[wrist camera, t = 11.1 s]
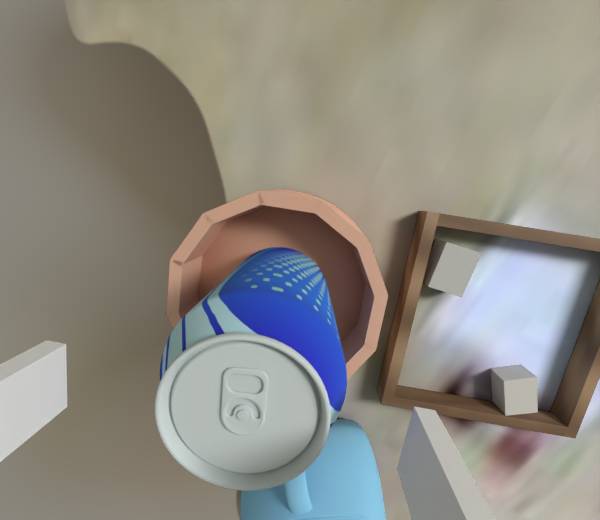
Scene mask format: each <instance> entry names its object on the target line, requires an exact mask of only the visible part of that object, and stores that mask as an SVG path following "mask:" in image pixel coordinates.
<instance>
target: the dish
mask: <svg viewBox="0 0 600 520" xmlns="http://www.w3.org/2000/svg"><path fill="white" fill-rule="evenodd" d="M271 247H286V248H291V249H294V250H297V251H299V252H302V253H303V254H305V255H307V256H308V257H309V258H311V259H312V260H313V261H314V262H315V263H316V264H317V265H318V267H319V268H320V269H321V271H322V273H323V275H324V277H325V280H326V283H327V287H328V291H329V295H330V300H331V304H332V308H333V312H334V316H335V321H336V325H337V329H338V333H339V337H340V341H341V346H342V350H343V354H344V358H345V362H346V370H347V380H348V379H349V378H350V377H351V376H352V375H353V374H354V373H355V372H356V371H357V369H358V368H359V367H360V366H361V365H362V364H363V363H364V362H365V361H366V360H367V359H368V358H369V357H370V356H371V355H372V354H373V353H374V352H375V351H376V348H377V344H378V339H379V335H380V330H381V326H382V322H383V317H384V313H385V308H386V304H387V300H388V293H387V290H386V287H385V284H384V282H383V279H382V276H381V273H380V270H379V267H378V264H377V261H376V258H375V256H374V253H373V250H372V247H371V244H370V241H369V239H367V238H366V237H365V236H364V234H363V233H362V232H361V230H360V229H359V228H358V227H357V225H356V224H355V223H354V222H353V221H352V220H351V219H350V218H349V217H348V216H347V215H346V214H345V213H343V212H342V211H341V210H339V209H338V208H337V207H335V206H334V205H332V204H330V203H328V202H326V201H325V200H323V199H321V198H318V197H315V196H313V195H310V194H307V193H302V192H298V191H291V190H267V191H261V190H260V191H256V192H254V193H252V194H249V195H246V196H243V197H241V198H239V199H237V200H234V201H232V202H229V203H227V204H224V205H222V206H219V207H217V208H215V209H212V210H210V211H207V212H205V213H203V214H202V216H201V217H200V219H199V220H198V221H197V223H196V224H195V225H194V227H193V228H192V230H191V231H190V232H189V234H188V235H187V237H186V238H185V240H184V241H183V242H182V244H181V245H180V246H179V248H178V249H177V250H176V252H175V253H174V255H173V256H172V257H171V260H170V267H169V282H168V297H167V310H166V314H167V317H168V319H169V321H170V323H171V325H172V327H173V329H174V328H175V327H176V325H177V324H178V322H179V321H180V320H181V319H182V318H183V317H184V316H185V315H186V314H187V313H188V312H189V311H190V310H191V309H192V308H193V307H194V306H196V305H197V304H198V303H199V302H200V301H201V300H202V299H203V298H204V297H205V296H206V295H208V294H209V293H210V292H211V291H212V290H213V289H214V288H215V287H216V286H217V285H218V284H220V283H221V282H222V281H223V280H224V279H225V278H226V277H227V276H228V275H229V274H231V273H232V272H233V271H234V270H235V269H236V268H237V267H238V266H239V265H240V264H241V263H243V262H244V261H245V260H246V259H247V258H248V257H249V256H251V255H252V254H254V253H256V252H258V251H260V250H263V249H266V248H271Z"/></svg>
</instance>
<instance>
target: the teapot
mask: <svg viewBox="0 0 600 520" xmlns="http://www.w3.org/2000/svg"><path fill="white" fill-rule="evenodd" d="M241 520H386V517H385V509H384V501H383V494H382V488H381V482H380V477H379V473H378V469H377V465H376V461H375V457H374V454H373V451H372V448H371V445H370V442H369V439H368V437H367V435H366V433H365V432H364V430H363V429H362V427H361V426H360V425H359V424H358V423H357V422H355V421H353V420H346V419H336V421H335V422H334V424H333V425H332V427H331V428H330V429H329V434H328V437H327V440H326V443H325V445H324V447H323V449H322V451H321V453H320V454H319V456H318V457H317V458H316V460H315V461H314V462H313V463H312V464H311V466H310V467H309V468H307V469H306V470H305V471H304V472H303V473H301V474H300V475H299V476H297V477H295V478H294V479H292V480H290V481H288V482H286V483H284V484H281V485H278V486H275V487H272V488H268V489H262V490H250V491H244V490H241Z"/></svg>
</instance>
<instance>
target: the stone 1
mask: <svg viewBox="0 0 600 520" xmlns="http://www.w3.org/2000/svg"><path fill="white" fill-rule="evenodd" d="M480 256H481V253H480V252H476V251H473V250H470V249H467V248H464V247H461V246H458V245H454V244H451V243H448V242H445V241H441V240H438V239H436V240H435V242H434V245H433V247H432V250H431V252H430V255H429V259H428V263H427V267H426V271H425V275H424V279H423V283H424V284H425V285H427V286H428V287H431V288H434V289H437V290H440V291H443V292H447V293H450V294H453V295H456V296H459V297H462V295H463V293H464V291H465V289H466V287H467V284H468V282H469V280H470V278H471V276H472V273H473V271H474V269H475V267H476V264H477V262H478V260H479V258H480Z"/></svg>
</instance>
